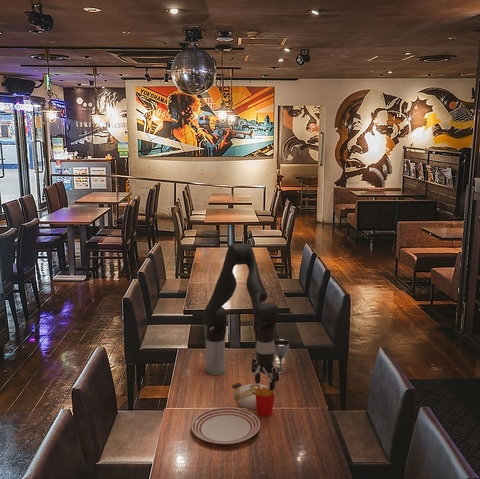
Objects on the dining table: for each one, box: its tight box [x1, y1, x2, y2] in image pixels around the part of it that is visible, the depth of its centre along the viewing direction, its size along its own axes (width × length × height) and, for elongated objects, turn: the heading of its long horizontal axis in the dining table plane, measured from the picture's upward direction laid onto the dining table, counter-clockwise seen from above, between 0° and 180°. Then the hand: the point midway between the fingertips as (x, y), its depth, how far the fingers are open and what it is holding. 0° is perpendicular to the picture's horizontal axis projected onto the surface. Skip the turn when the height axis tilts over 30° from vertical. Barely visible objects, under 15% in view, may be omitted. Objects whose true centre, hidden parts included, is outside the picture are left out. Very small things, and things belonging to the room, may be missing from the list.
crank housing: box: [236, 383, 269, 410], centre depth 239 cm, size 16×16×4 cm
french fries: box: [254, 386, 275, 417], centre depth 227 cm, size 8×4×12 cm, turn 88°
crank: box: [231, 382, 261, 401], centre depth 235 cm, size 16×5×7 cm, turn 131°
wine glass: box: [274, 339, 290, 374], centre depth 270 cm, size 8×8×15 cm
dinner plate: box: [190, 406, 261, 445], centre depth 215 cm, size 28×27×3 cm
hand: (264, 386), depth 226 cm, fingers open, 8 cm apart
